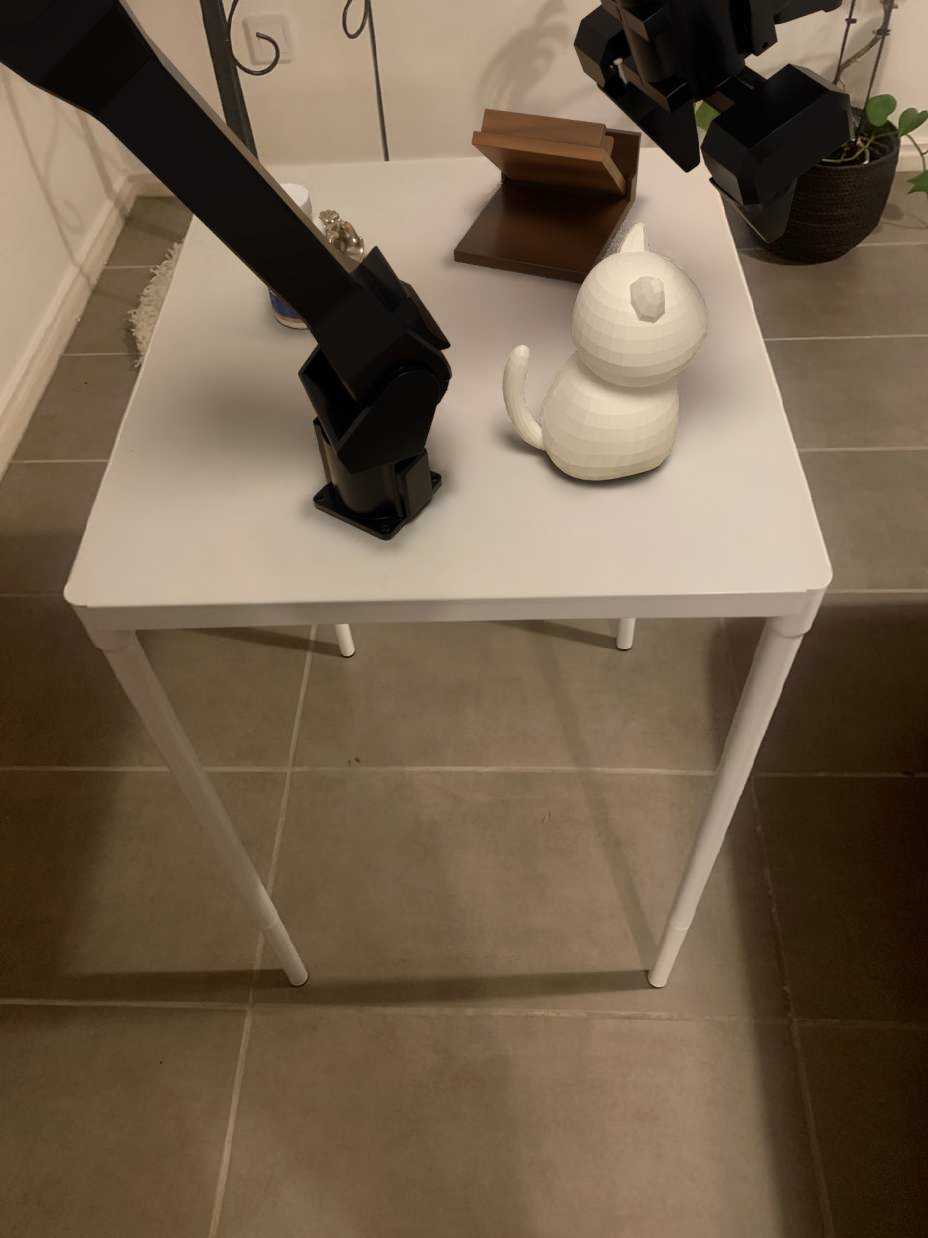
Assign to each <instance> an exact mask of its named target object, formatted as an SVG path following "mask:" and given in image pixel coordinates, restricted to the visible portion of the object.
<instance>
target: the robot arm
mask: <svg viewBox="0 0 928 1238" xmlns="http://www.w3.org/2000/svg"><path fill="white" fill-rule="evenodd" d="M599 1H600V3H601V4H599V5H598V6H597V7H595V9H593V10H592V11H591V12H589V13H588V14H587V15H585V16H584V17H583V18H582V19H580V22H579V25H578V29H577V31H576V35H575V38H574V42H573V44H572V46H573V47H574V50H575V53H576V56H577V58H578V60H579V64H580V66H581V68H582V72H583V73H584V74H585V75H586V76H588V77H589V78H590V79H591V80H592V81H594V82H595V83H596V87H597V88H598V90H600V91H601V92H602V93H603V94H604V95H605V96H606V97H607V98H608V99H609V100H610V101H611V102H612V103H613V104H614V105H615V106H616V107H617V108H618V109H619V110H620V111H622V112H623V113H624V114H625V116H627V117H628V118H629V119H630V120H631V122H633V123H634V124H635V126H636V127H638V128H639V129H640V130H641V131H642V132H643V133H644V134H645V135H646V136H647V137H648V138H649V139H650V140H651V141H652V142H653V143H654V144H656V146H658V148H659V149H661V151H662V152H663V153H664V154H665V155H667V156H668V157H669V158H670V160H671V161H672V162H674V163H675V165H677V167H679V168H680V169H681V170H682V171H683V173H686V174H688V173H690V172H692V171H693V170H694V169H696V168H697V167H698V166H700V164H701V156H702V159H703V163H704V166H705V168H706V169H707V171H708V172H709V173H710V177H709V178H708V182H709V183H710V184H711V185H712V186H713V187H714V189H716V191H717V192H718V193H719V194H720V195H721V196H722V197H723V198H724V199H725V200H726V201H727V203H729V204H730V206H731V207H733V209H734V210H735V211H736V212H737V213H738V214H739V215H740V216H741V217H742V218H743V220H744V221H745V222H746V223H747V225H749V226H750V227H751V228H752V229H753V230H754V231H755V232H756V233H757V234H758V235H759V237H761V239H762V240H763V241H764V242H766V243H767V244H772V243H773V242H775V241H776V240H777V239H778V238H780V237H782V236H783V235H784V233H785V232H786V229H787V228H786V227H787V223H788V220H789V215H790V211H791V208H792V204H793V199H794V195H795V190H796V187H797V182H798V179H799V177H800V176H802V175H803V174H804V173H806V172H808V171H809V170H811V168H813V167H815V166H816V165H817V164H818V163H820V162H822V160H824V159H826V158H827V157H828V156H830V155H831V154H832V153H834V152H836V150H838V149H839V148H840V147H842V146H843V145H845V144H846V143H848V142H849V141H850V140H852V136H853V131H854V128H855V125H854V118H853V111H852V110H853V109H852V101H851V94H850V93H848V92H847V91H845V90H843V89H842V88H840V87H839V86H837V85H836V84H834V83H832V82H831V81H830V80H828V79H826V78H825V77H823V76H822V75H820V74H818V73H817V72H815V71H814V70H812V69H811V68H809V67H807V66H802V65H796V64H793V63H787V64H786V65H784V66H783V67H781V68H780V69H779V70H777V71H776V72H775V73H773V74H771V76H770V77H768V78H766V77H764V76H763V75H761V74H760V73H758V72H757V71H755V70H754V69H753V68H751V67H749V66H748V65H746V64H747V63H746V59H747V58H748V57H750V56H751V55H753V56H754V57H757V58H758V57H759V56H761V55H762V54H763V53H765V52H767V50H769V49H770V48H771V47H773V46H774V45H775V44H777V43H778V41H779V39H778V35H777V29H776V25H782V24H786V23H789V22H792V21H795V20H799V19H800V18H803V17H806V16H809V15H813V14H815V13H818V12H821V11H823V12H824V13H826V14H827V13H830V12H833V11H835V10H838V9H839V8H840V7H841V6H843V1H844V0H599ZM0 63H1V64H2V65H3V66H5V67H6V68H8V69H9V70H10V71H12V72H13V73H15V74H16V75H18V76H19V77H20V78H22V79H23V80H25V81H26V82H27V83H29V84H30V85H32V86H33V87H35V88H36V89H39V90H41V91H42V92H45V93H47V94H48V95H50V96H53V97H54V98H56V99H59V100H60V101H62V102H64V103H66V104H68V105H70V106H71V107H73V108H76V109H78V110H80V111H81V112H84V113H85V114H88V115H89V116H91V117H92V118H93V119H95V120H96V121H98V122H99V123H100V124H102V125H103V126H104V127H105V128H106V129H107V130H108V131H109V132H110V133H111V134H112V135H113V136H114V137H115V138H116V139H117V140H118V141H119V142H120V143H121V144H123V146H124V147H125V148H126V149H127V150H128V151H129V152H130V153H131V154H132V155H133V156H135V158H136V159H138V160H139V162H141V163H142V165H144V166H145V167H146V169H147V170H149V171H150V172H151V174H153V176H155V177H156V178H157V179H158V180H159V181H160V182H161V183H162V184H163V185H164V186H165V188H166V189H168V190H169V191H170V193H172V194H173V195H174V197H176V198H177V199H178V200H179V201H180V202H181V203H182V204H183V206H185V207H186V208H187V209H188V210H189V211H190V212H191V213H192V214H193V215H194V216H195V217H196V218H197V219H198V220H199V221H200V222H201V223H202V224H203V225H204V226H205V227H206V228H208V230H209V231H211V233H212V234H213V235H214V236H215V237H216V238H218V239H219V240H220V242H221V243H222V244H223V245H225V247H226V248H227V249H229V251H231V252H232V253H233V254H234V256H236V257H237V258H238V259H239V260H240V262H242V263H243V264H244V265H245V266H246V267H247V268H248V269H249V270H250V271H251V273H253V275H255V276H256V277H257V278H258V279H259V280H260V281H261V282H262V283H263V284H264V285H265V286H266V288H267V287H268V288H269V289H270V290H271V291H272V292H273V293H274V294H275V295H276V296H277V297H278V298H279V299H280V300H281V301H282V302H283V303H284V304H285V305H286V306H287V307H288V308H290V309H291V310H292V311H293V312H294V313H295V314H296V315H297V316H298V317H299V318H300V319H301V320H302V321H303V322H304V323H305V325H306V326H307V328H306V329H308V331H309V332H310V334H311V335H312V337H313V338H314V340H315V342H316V343H317V344H316V346H315V347H314V348H313V350H312V351H311V353H310V354H309V355H308V357H307V359H305V361H304V363H303V364H302V366H301V367H300V368H299V370H298V371H297V376H298V378H299V381H300V383H301V385H302V387H303V389H304V391H305V392H306V395H307V397H308V400H309V401H310V403H311V406H312V408H313V409H314V412H315V414H316V416H315V417H314V418H313V419H312V426H313V430H314V435H315V438H316V439H315V440H316V443H317V447H318V451H319V456H320V460H321V463H322V469H323V473H324V477H325V480H326V481H325V482H326V484H325V485H324V486H323V487H322V488H321V489H320V490H319V491H318V492H316V494H315V495H314V496H313V497H312V501H313V505H314V507H316V508H318V509H320V510H322V511H324V512H326V513H328V514H330V515H332V516H334V517H336V518H338V519H341V520H342V521H344V522H347V523H349V524H351V525H353V526H355V527H358V528H359V529H361V530H364V531H365V532H368V533H370V534H372V535H374V536H376V537H379V538H381V539H383V540H388V539H391V538H393V537H394V536H395V534H397V533H398V532H399V530H400V529H402V528H403V526H404V525H405V524H406V523H407V522H408V521H409V520H410V519H411V518H413V517H414V516H415V515H416V513H417V512H419V510H421V508H423V506H424V505H425V504H426V503H427V502H428V501H429V500H430V499H431V498H432V497H433V494H434V493H435V492H436V491H437V490H438V489H439V488H440V487H441V486H442V484H443V478H442V474H440V473H438V472H437V471H434V470H432V469H431V468H430V467H431V466H430V459H429V452H428V449H427V448H426V444H427V441H428V438H429V435H430V431H431V427H432V423H433V421H434V417H435V415H436V411H437V407H438V405H439V404H440V403H441V402H442V400H443V399H444V396H445V395H446V393H447V391H448V389H449V386H450V381H451V380H452V379H453V371H452V366H451V365H450V362H449V361H448V359H447V357H446V356H445V354H444V352H443V351H444V350H448V349H450V348H451V347H452V346H451V345H452V344H451V342H450V341H449V339H448V338H447V336H446V334H445V333H444V332H443V331H442V328H440V326H439V324H438V323H437V321H436V320H435V319H434V317H433V316H432V314H431V312H430V311H429V310H428V308H427V306H426V305H425V303H424V302H423V300H422V299H421V298H420V296H419V295H418V293H417V292H416V290H415V288H414V287H413V286H412V284H411V283H409V282H406V281H404V280H402V279H400V278H399V277H398V275H397V274H396V272H395V271H394V269H393V267H392V266H391V264H390V263H389V261H388V260H387V258H386V257H385V255H384V253H382V251H381V249H380V248H379V246H378V245H374V246H373V247H372V248H371V250H370V251H369V252H368V253H367V255H365V257H363V259H362V261H361V263H360V262H358V261H356V260H354V259H352V258H350V257H348V256H346V255H344V254H343V253H341V252H340V249H337V248H336V247H335V246H334V244H333V245H332V244H331V243H330V241H329V240H328V239H327V238H326V237H325V236H324V235H323V233H322V232H321V231H320V230H319V229H318V228H317V227H316V226H315V224H314V223H313V222H312V221H311V220H310V219H309V218H308V216H307V215H306V214H305V213H304V212H303V211H302V210H301V208H300V207H299V206H298V205H297V204H296V203H295V202H294V201H293V199H292V198H291V197H290V196H289V195H288V194H287V193H286V191H285V190H284V189H283V188H282V187H281V186H280V185H279V184H280V183H279V182H278V181H277V180H276V179H275V177H274V176H272V174H271V173H270V172H269V170H267V168H266V167H265V166H264V165H263V164H262V163H261V162H260V160H258V158H257V157H256V156H255V155H254V154H253V153H252V151H251V150H250V149H249V148H248V147H247V146H246V145H245V144H244V143H243V142H242V140H241V139H240V138H239V137H238V135H236V133H235V132H234V131H233V130H232V129H231V128H230V126H229V125H227V123H226V122H225V121H224V120H223V118H222V117H221V116H220V115H219V114H218V113H217V112H216V111H215V110H214V108H213V107H212V106H211V104H209V103H208V101H206V99H205V98H204V97H203V95H201V94H200V93H199V91H198V90H197V89H196V88H195V87H194V86H193V85H192V84H191V82H190V81H189V80H188V79H187V78H186V77H185V75H183V73H182V72H181V71H180V70H179V69H178V68H177V66H176V65H174V63H173V62H172V61H171V60H170V58H169V57H168V56H167V55H166V54H165V53H164V52H163V51H162V49H161V48H160V47H159V46H158V45H157V44H156V42H154V41H153V39H152V38H151V37H150V36H149V34H148V33H147V32H146V30H145V28H144V27H143V25H142V24H141V22H140V21H139V18H137V16H136V14H135V13H134V11H133V9H132V8H131V6H130V5H129V3H128V1H127V0H0ZM698 102H704V103H705V104H707V105H708V106H709V107H710V108H712V109H713V110H714V111H716V112H717V113H718V114H719V115H717V116H716V117H714V118H712V120H710V123H709V125H708V128H707V129H706V130H707V131H706V132H705V134H704V136H703V140H702V142H701V144H700V139H699V133H698V132H699V131H698V124H697V119H696V118H697V117H696V111H695V106H694V104H695V103H698ZM268 288H267V289H268Z"/></svg>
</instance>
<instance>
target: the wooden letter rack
mask: <svg viewBox="0 0 928 1238" xmlns="http://www.w3.org/2000/svg"><path fill="white" fill-rule="evenodd" d="M606 128H607V125H606V124H605V123H601V122H593V121H586V120H578V119H571V118H562V117H554V116H547V115H539V114H531V113H524V112H516V111H509V110H508V111H507V110H500V109H493V108H485V109H484V113H483V118H482V124H481V128H480V131H479V130H473V132H472V137H471V141H470V142H471V145H472V146H473V147H474V148H476V149H477V150H478V151H479V153H481V154H482V155H483V156H484V157H485V158H486V159H487V160H488V161H490V162H491V163H492V164H493V165H494V166H495V167H496V168H497V169H498V170H499V171H500V172H501V171H502V172H503V173H504V174H505V175H506V176H507V177H508V178H509V179H515V180H522V181H528V182H535V183H542V184H548V185H555V186H562V187H569V188H575V189H582V190H589V191H595V192H602V193H609V194H616V195H622V196H625V195H626V191H627V185H628V184H627V182H626V181H625V179H624V178H623V176H622V175H621V173H620V172H619V170H618V168H617V167H616V165H615V164H614V162H613V161H612V159H611V158H610V156H611V151H612V147H613V142H614V139H613V137H612V136H605V132H606Z"/></svg>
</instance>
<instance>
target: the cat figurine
mask: <svg viewBox="0 0 928 1238" xmlns="http://www.w3.org/2000/svg"><path fill="white" fill-rule="evenodd" d="M708 316H709V315H708V309H707V304H706V302H705V299H704V296H703V293H701V290H700V288H699V287H698V285H697V283H696V282H695V281H694V279H692V278H691V276H690V275H688V273H687V272H686V271H684V269H682V268H681V267H680V266H679V265H677V264H676V263H675V262H674V261H672V260H671V259H669V258H667V257H665V256H664V255H661V254H659V253H657V252H655V251H654V252H653V251H650V249H649V241H648V234H647V230H646V226H645V224H644V223H643V222H642V221H638V222H637V223H636V224H634V225H633V226H632V227H631V228H630V230H628V232H627V233H626V235H625V236H624V237H623V239H622V241H621V243H620V244H619V246H618V247H617V251H616V253H613V254H610V255H608V256H606V257H605V258H603V259H602V260H601V262H600V263H598V264H597V265H596V266H595V267H594V268H593V269H592V270H591V272H590V273H589V274H588V276H587V277H586V279H585V280H584V282H583V284H582V283H581V286H580V288H579V290H578V292H577V296H576V300H575V303H574V306H573V310H572V317H571V333H572V341H573V344H574V346H575V349H576V350H575V351H574V352H573V353H572V354H571V355H570V356H569V357H568V358H567V359H566V360H565V361H564V362H563V364H562V365H561V367H560V369H559V370H558V372H556V374H555V376H554V379H553V381H552V382H551V384H550V386H549V388H548V391H547V393H546V395H545V398H544V400H543V401H542V406H541V410H540V414H539V416H540V425H539V424H538V423H537V422H536V421H535V419H534V417H533V416H532V415H531V412H530V411H529V408H528V405H527V402H526V395H525V394H526V393H525V387H526V386H525V384H526V380H527V375H528V371H529V367H530V366H529V365H530V361H531V351H530V348H529V347H528V346H527V345H525V344H519V345H518V346H516V347H515V348H513V350H512V351H511V352H510V354H509V355H508V358H507V360H506V362H505V365H504V368H503V369H504V370H503V373H502V374H503V375H502V386H501V387H502V388H501V389H502V396H503V402H504V406H505V409H506V412H507V415H508V417H509V420H510V423H511V425H512V426H513V428H514V429H515V431H516V433H517V434H518V435H519V437H520V438H521V439H522V440H523V441H524V442H526V443H527V444H529V445H530V446H532V447H534V448H536V449H539V450H542V451H545V452H546V453H547V455H548V456H549V458H550V459H551V461H552V462H553V463H554V465H555V466H556V467H557V468H559V470H561V471H562V472H563V473H564V474H566V475H568V476H571V477H572V478H576V479H579V480H584V481H606V480H613V479H619V478H624V477H629V476H633V475H637V474H640V473H641V474H642V473H644V472H648V471H651V470H653V469H656V468H658V467H659V466H661V464H663V462H664V461H665V460H666V459H667V458H668V457H669V455H671V452H672V449H673V447H674V444H675V441H676V438H677V435H678V425H679V417H680V399H679V398H680V397H679V392H678V386H677V382H676V380H675V376H676V375H678V374H679V373H680V372H682V371H683V370H684V369H686V367H687V366H688V365H690V363H691V362H692V360H694V358H695V356H696V354H697V353H698V351H699V350H700V348H701V347H702V346H703V344H704V343H705V342H704V341H705V340H706V336H707V333H708V327H709V317H708Z"/></svg>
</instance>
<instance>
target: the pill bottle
mask: <svg viewBox="0 0 928 1238" xmlns="http://www.w3.org/2000/svg"><path fill="white" fill-rule="evenodd" d="M278 184H279V185H280V186H281V187H282V188H283V189H284V190H285V191H286V193H287V194H288V195H289V196H290V197H291V198H292V199H293V201H294V202H295V203H296V204H297V205H298V206H299V207H300V208H301V210H302V211H303V212H304V213H305V214H306V215H307V216H308V218H309V219H310V220H311V221H312V222H313V223H314V224H315V226H316V227H317V228H318V229H319V230H320V231H321V232H322V233H323V235H324V236H325V237H326V238H327V235H326V231H325V227H324V224H323V222H322V221H321V219H320V218H319V217H320V216H318V215H316V214H314V213H313V207H312V202H311V197H310V193H309V191H308V189H307V188H306V187H304V186H302V185H300V184H296V183H278ZM266 288H267V292H268V295H269V301H270V303H271V306H272V310H273V313H274V317H275V318H276V319H277V320H278V322H280V324H282V325H284V326H286V327H289V328H294V329H308V328H307V326H306V325H305V323H304V322H303V321H302V320H301V319H300V318H299V317H298V316H297V315H296V314H295V313H294V312H293V311H292V310H291V309H290V308H288V307H287V306H286V305H285V304H284V303H283V302H282V301H281V300H280V299H279V298H278V297H277V296H276V295H275V294H274V293H273V292H272V291H271V290H270V289H269V288H268V287H267V286H266Z"/></svg>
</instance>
